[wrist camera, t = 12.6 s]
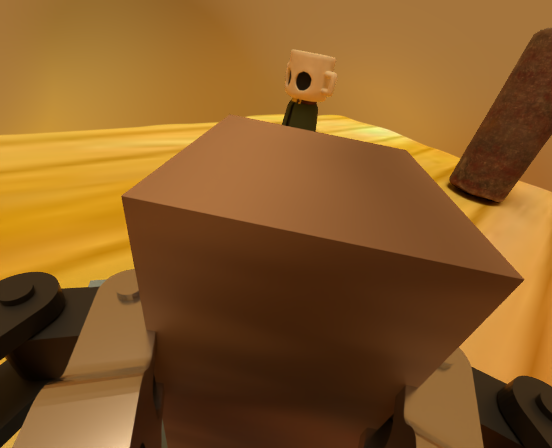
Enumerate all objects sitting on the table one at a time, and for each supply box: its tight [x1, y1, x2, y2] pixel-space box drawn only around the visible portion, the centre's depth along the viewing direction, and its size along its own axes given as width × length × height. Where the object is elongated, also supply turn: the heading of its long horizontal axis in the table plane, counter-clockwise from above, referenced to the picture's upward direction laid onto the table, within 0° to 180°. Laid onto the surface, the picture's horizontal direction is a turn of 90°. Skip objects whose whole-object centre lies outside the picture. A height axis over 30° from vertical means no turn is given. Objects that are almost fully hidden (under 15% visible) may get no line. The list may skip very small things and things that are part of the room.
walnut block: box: [121, 115, 524, 448], centre depth 8 cm, size 5×5×10 cm
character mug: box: [282, 50, 337, 132], centre depth 45 cm, size 11×7×13 cm, turn 40°
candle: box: [450, 28, 552, 202], centre depth 34 cm, size 8×7×20 cm
